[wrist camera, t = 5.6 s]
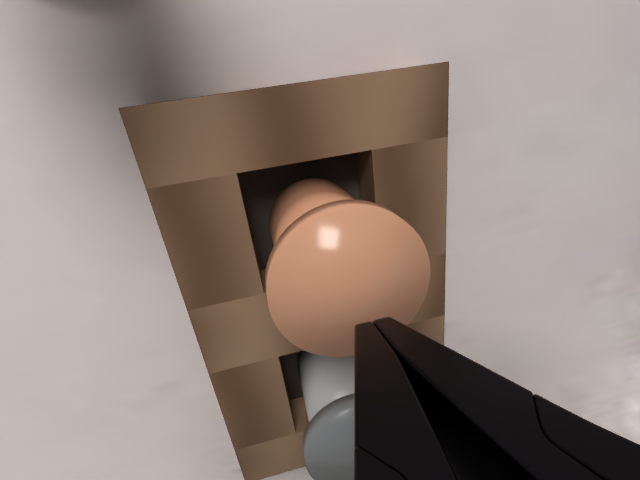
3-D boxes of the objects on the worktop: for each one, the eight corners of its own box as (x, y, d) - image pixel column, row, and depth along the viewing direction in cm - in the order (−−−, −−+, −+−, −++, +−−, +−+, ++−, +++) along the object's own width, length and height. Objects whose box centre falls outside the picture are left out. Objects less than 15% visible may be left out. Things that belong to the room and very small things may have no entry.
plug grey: (365, 314, 20) (412, 393, 14) (371, 378, 22) (414, 469, 16) (280, 334, 19) (296, 426, 14) (294, 399, 21) (313, 500, 16)
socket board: (418, 65, 16) (449, 61, 14) (423, 393, 24) (442, 425, 22) (137, 105, 14) (118, 108, 12) (245, 443, 22) (246, 483, 20)
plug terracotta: (361, 156, 15) (430, 192, 9) (369, 259, 17) (430, 335, 11) (245, 177, 14) (250, 227, 9) (268, 281, 16) (283, 373, 11)
